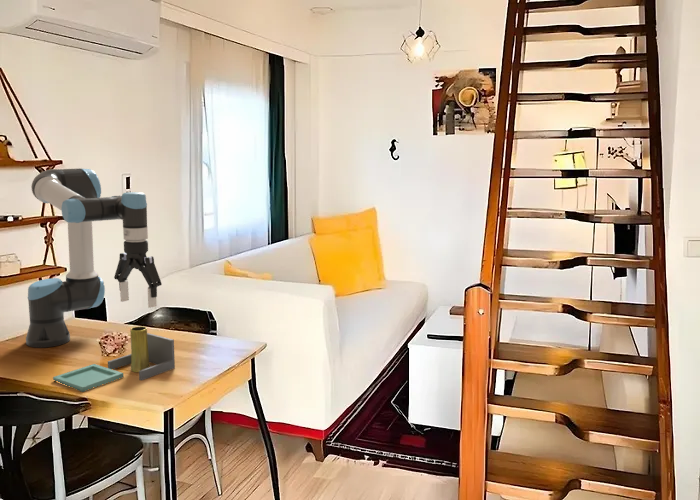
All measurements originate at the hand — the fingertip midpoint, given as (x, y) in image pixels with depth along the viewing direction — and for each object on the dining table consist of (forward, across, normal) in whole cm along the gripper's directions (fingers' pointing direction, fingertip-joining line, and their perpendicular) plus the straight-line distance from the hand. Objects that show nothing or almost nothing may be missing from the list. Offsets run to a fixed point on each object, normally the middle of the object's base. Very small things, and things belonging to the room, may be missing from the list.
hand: (138, 303), depth 216 cm
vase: (+23, 0, 0) cm, 23 cm away
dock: (+23, 0, 0) cm, 23 cm away
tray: (+23, -6, -16) cm, 28 cm away
